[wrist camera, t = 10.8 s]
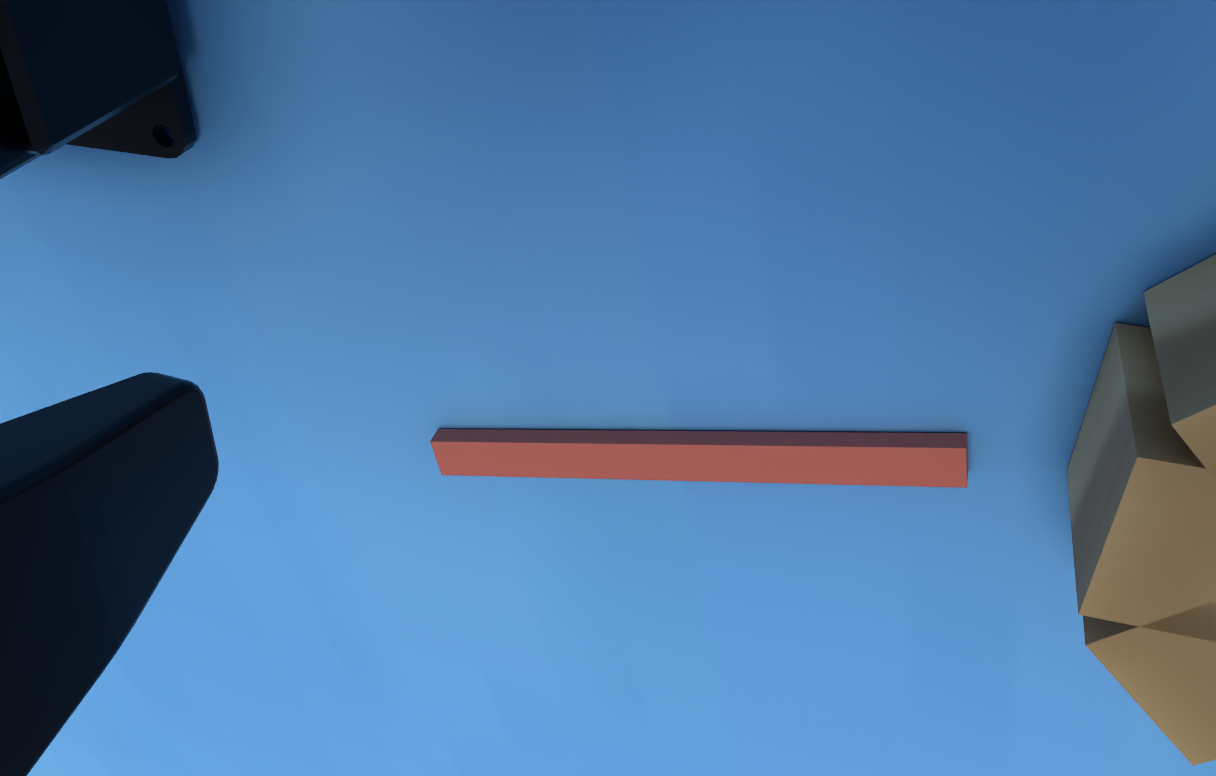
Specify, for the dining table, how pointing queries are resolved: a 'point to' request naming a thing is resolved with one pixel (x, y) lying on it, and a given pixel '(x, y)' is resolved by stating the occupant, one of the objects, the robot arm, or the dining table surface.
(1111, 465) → the tan segmented ring
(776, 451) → the brick-red rectangular plank
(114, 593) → the robot arm
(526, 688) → the dining table surface
